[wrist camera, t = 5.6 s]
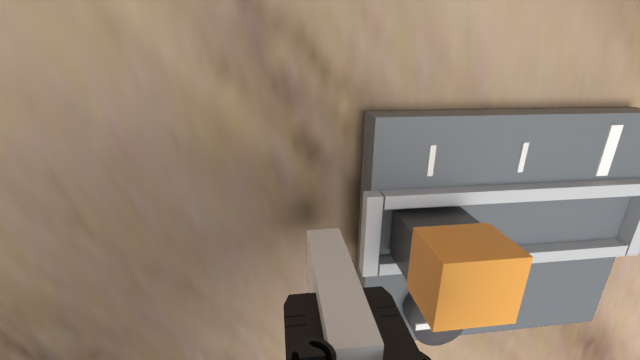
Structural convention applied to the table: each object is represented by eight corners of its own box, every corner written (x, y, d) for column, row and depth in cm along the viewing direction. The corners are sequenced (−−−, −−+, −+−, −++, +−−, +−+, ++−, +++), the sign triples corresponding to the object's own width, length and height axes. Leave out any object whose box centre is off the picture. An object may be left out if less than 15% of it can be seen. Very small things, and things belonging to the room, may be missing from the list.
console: (572, 300, 24) (621, 340, 21) (347, 322, 22) (361, 371, 19) (637, 106, 19) (715, 117, 16) (357, 110, 17) (378, 124, 14)
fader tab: (452, 253, 19) (515, 323, 14) (389, 258, 18) (432, 332, 13) (460, 201, 17) (533, 257, 13) (394, 204, 17) (443, 263, 12)
